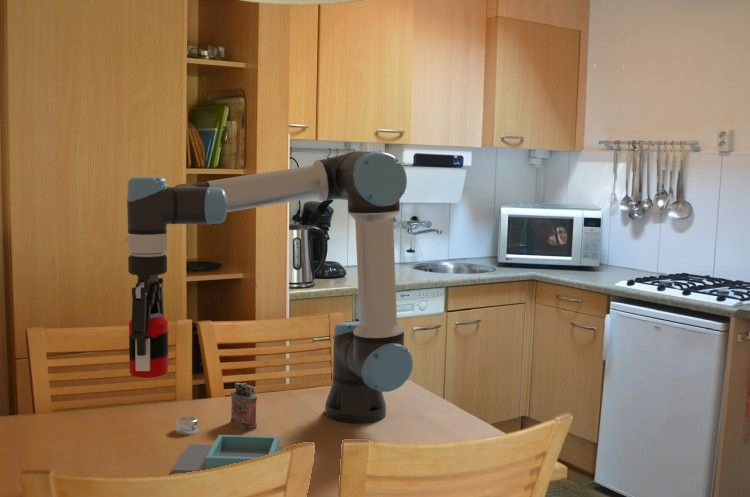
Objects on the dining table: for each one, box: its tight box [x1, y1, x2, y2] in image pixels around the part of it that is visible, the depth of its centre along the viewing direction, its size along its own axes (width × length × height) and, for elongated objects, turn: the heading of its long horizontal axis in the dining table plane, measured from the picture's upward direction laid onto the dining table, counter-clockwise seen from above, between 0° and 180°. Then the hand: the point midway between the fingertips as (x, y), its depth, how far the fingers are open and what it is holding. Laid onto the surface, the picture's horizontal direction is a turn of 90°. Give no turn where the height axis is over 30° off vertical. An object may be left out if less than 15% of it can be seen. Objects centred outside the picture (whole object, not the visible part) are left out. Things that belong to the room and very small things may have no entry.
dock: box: [171, 434, 283, 475], centre depth 162 cm, size 20×14×4 cm
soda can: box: [128, 313, 169, 379], centre depth 161 cm, size 8×8×12 cm
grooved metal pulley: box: [175, 415, 200, 436], centre depth 180 cm, size 5×3×5 cm
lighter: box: [230, 382, 258, 431], centre depth 185 cm, size 8×3×10 cm, turn 47°
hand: (148, 364), depth 161 cm, fingers closed on soda can, 7 cm apart
